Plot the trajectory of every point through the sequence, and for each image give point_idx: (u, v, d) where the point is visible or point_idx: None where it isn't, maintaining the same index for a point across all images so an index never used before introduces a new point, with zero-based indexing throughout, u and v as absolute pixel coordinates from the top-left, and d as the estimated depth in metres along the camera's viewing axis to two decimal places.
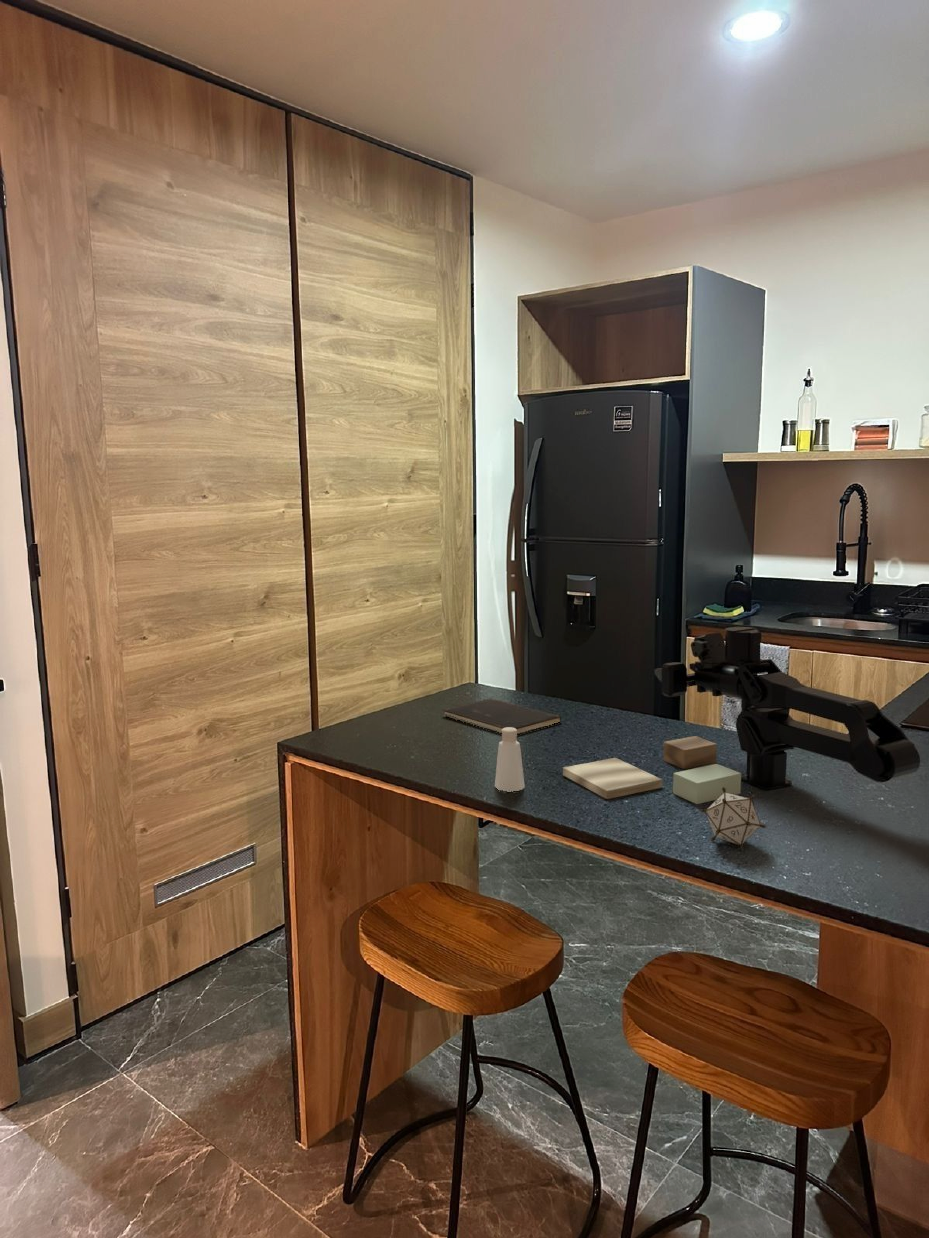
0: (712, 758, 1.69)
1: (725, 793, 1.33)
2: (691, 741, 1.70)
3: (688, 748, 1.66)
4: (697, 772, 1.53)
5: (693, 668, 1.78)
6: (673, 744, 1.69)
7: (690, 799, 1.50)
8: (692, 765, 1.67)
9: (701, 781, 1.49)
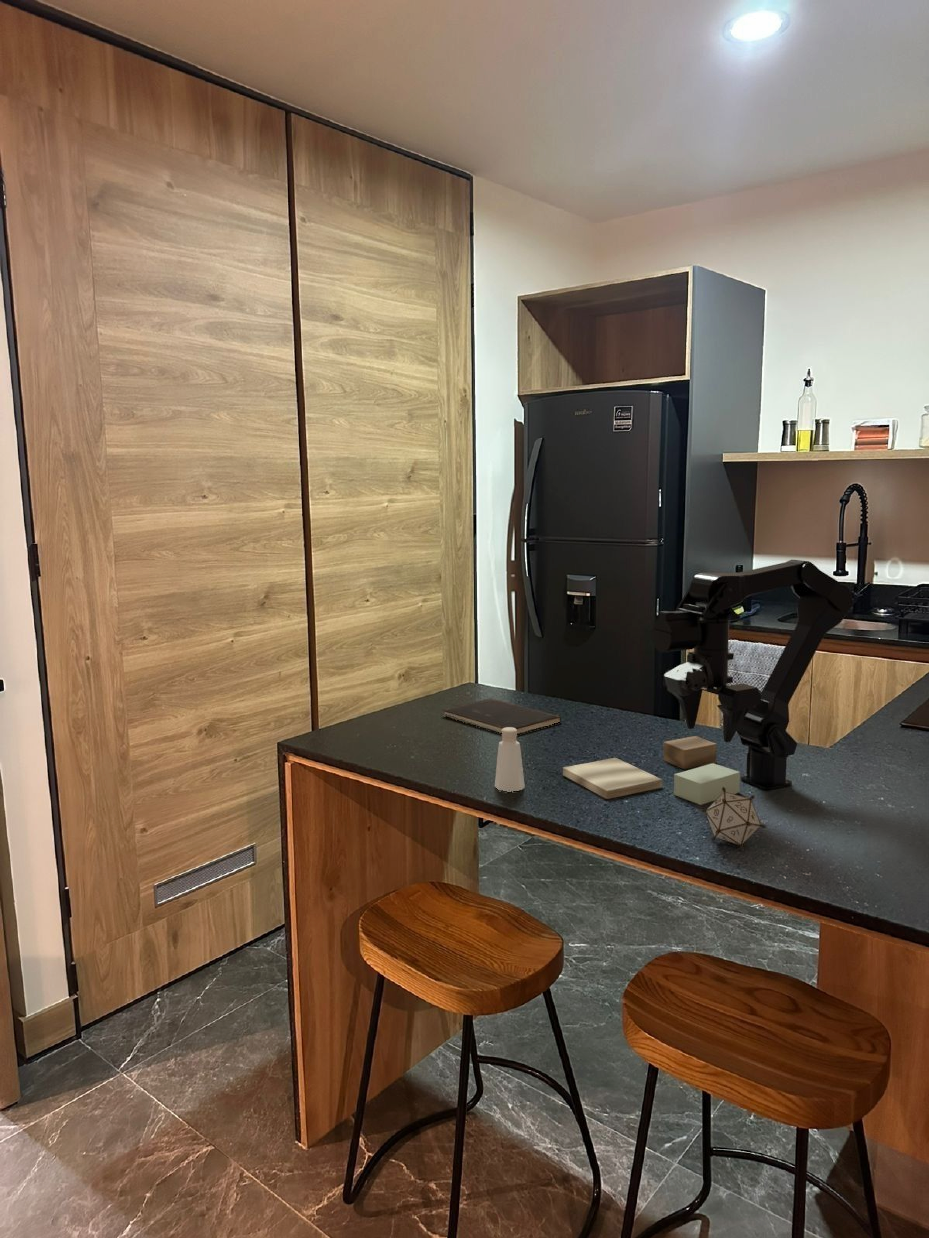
0: (712, 758, 1.69)
1: (725, 793, 1.33)
2: (691, 741, 1.70)
3: (688, 748, 1.66)
4: (697, 772, 1.53)
5: (693, 722, 1.55)
6: (673, 744, 1.69)
7: (693, 800, 1.49)
8: (692, 765, 1.67)
9: (704, 781, 1.48)
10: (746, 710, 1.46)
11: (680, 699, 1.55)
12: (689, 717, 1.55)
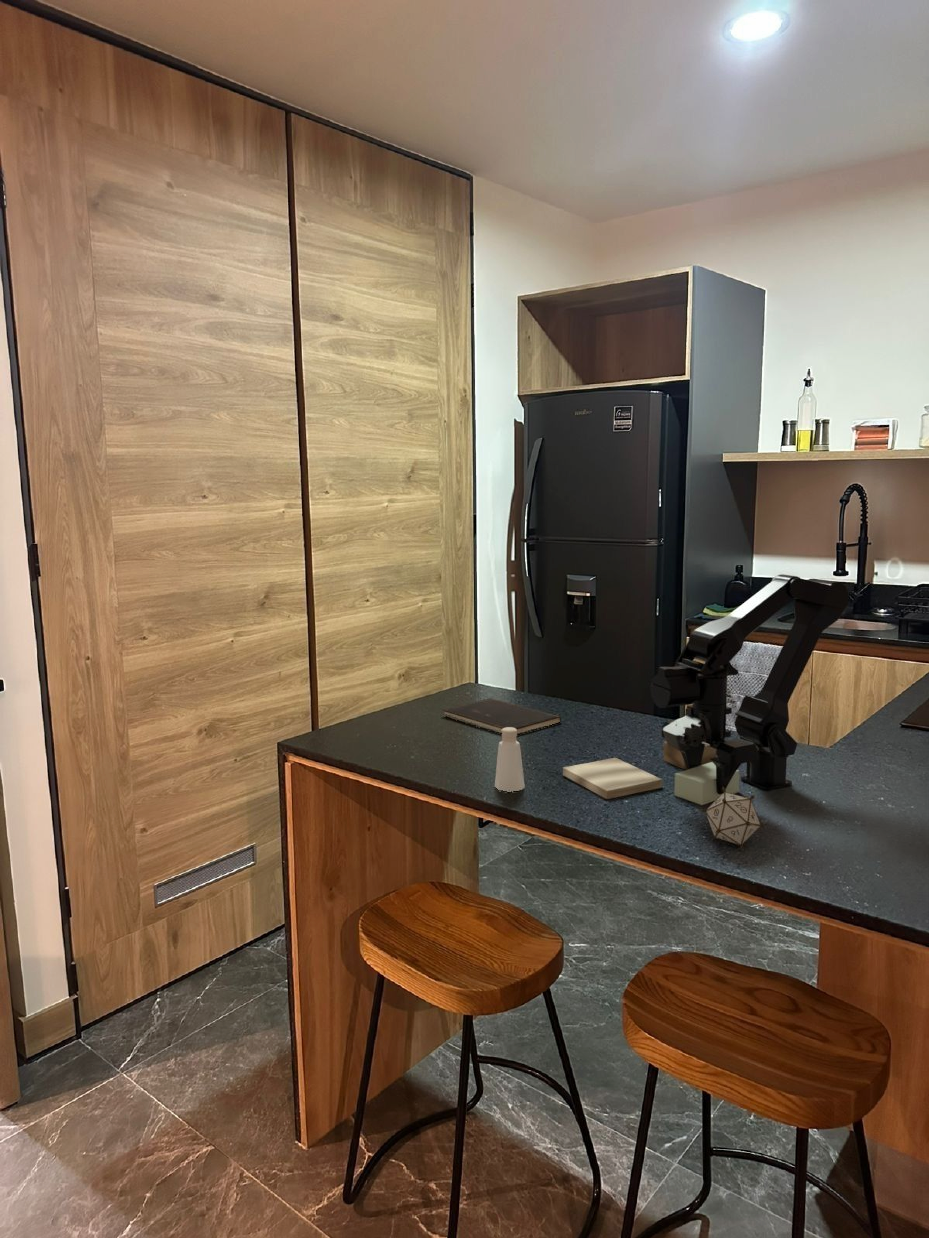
0: None
1: (725, 793, 1.33)
2: None
3: None
4: (697, 771, 1.53)
5: None
6: None
7: (694, 799, 1.49)
8: None
9: (705, 780, 1.48)
10: None
11: (683, 752, 1.55)
12: None
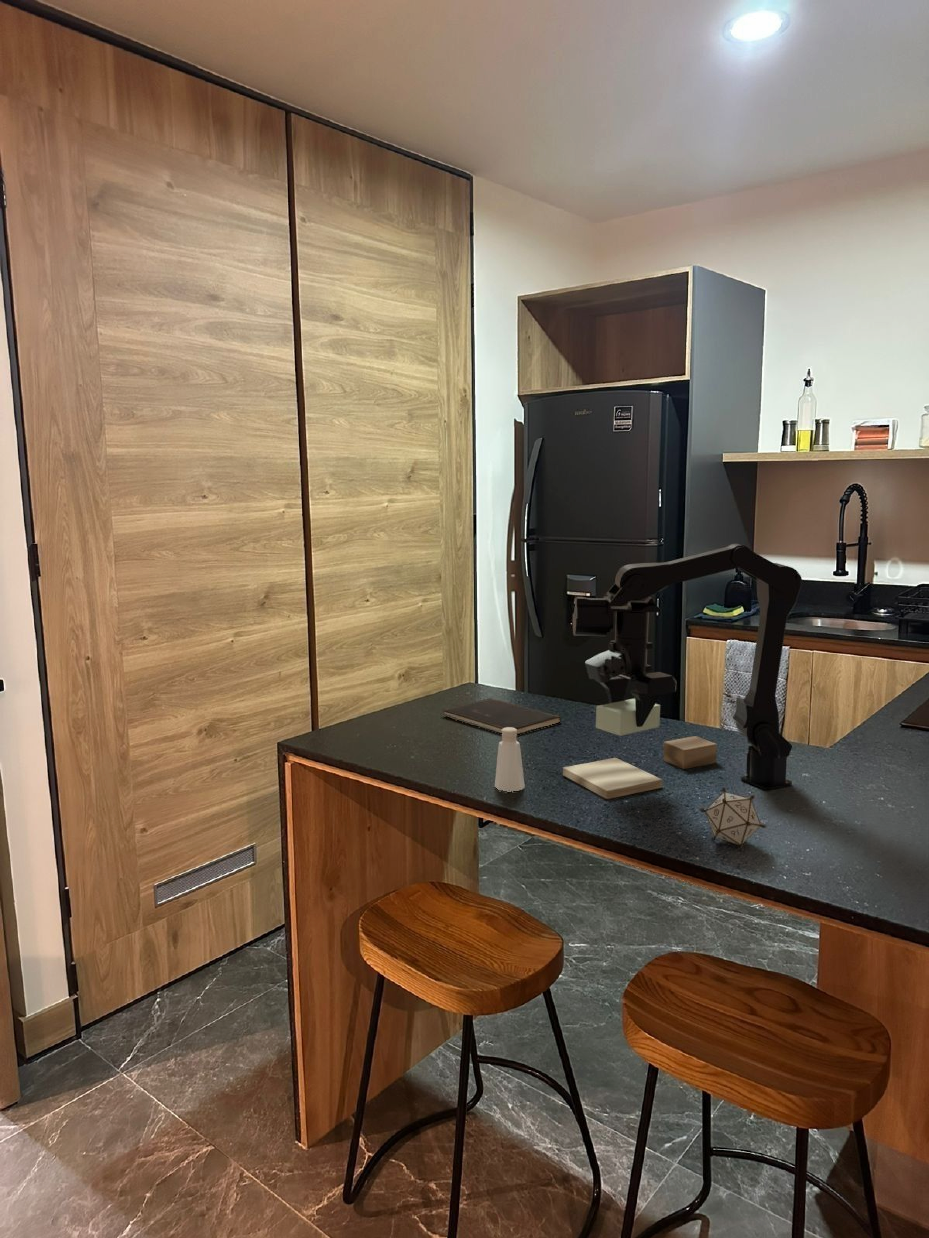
0: (712, 758, 1.69)
1: (725, 793, 1.33)
2: (691, 741, 1.70)
3: (688, 748, 1.66)
4: (618, 705, 1.56)
5: None
6: (673, 744, 1.69)
7: (613, 730, 1.52)
8: (692, 765, 1.67)
9: (624, 711, 1.52)
10: (657, 696, 1.52)
11: (606, 688, 1.59)
12: None
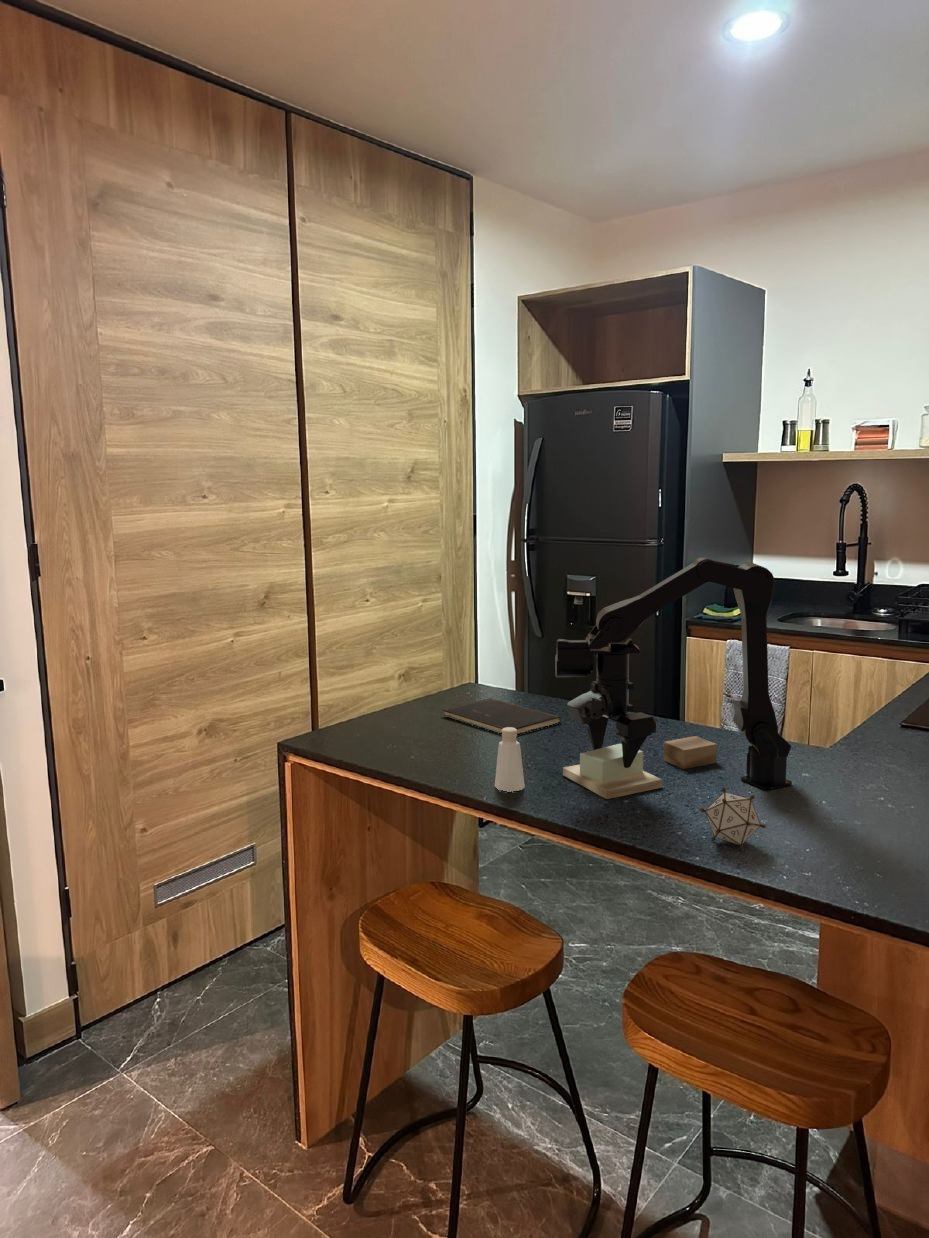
0: (712, 758, 1.69)
1: (725, 793, 1.33)
2: (691, 741, 1.70)
3: (688, 748, 1.66)
4: (602, 751, 1.59)
5: (599, 747, 1.63)
6: (673, 744, 1.69)
7: (596, 778, 1.56)
8: (692, 765, 1.67)
9: (606, 759, 1.55)
10: (644, 737, 1.53)
11: (587, 725, 1.63)
12: (595, 743, 1.63)
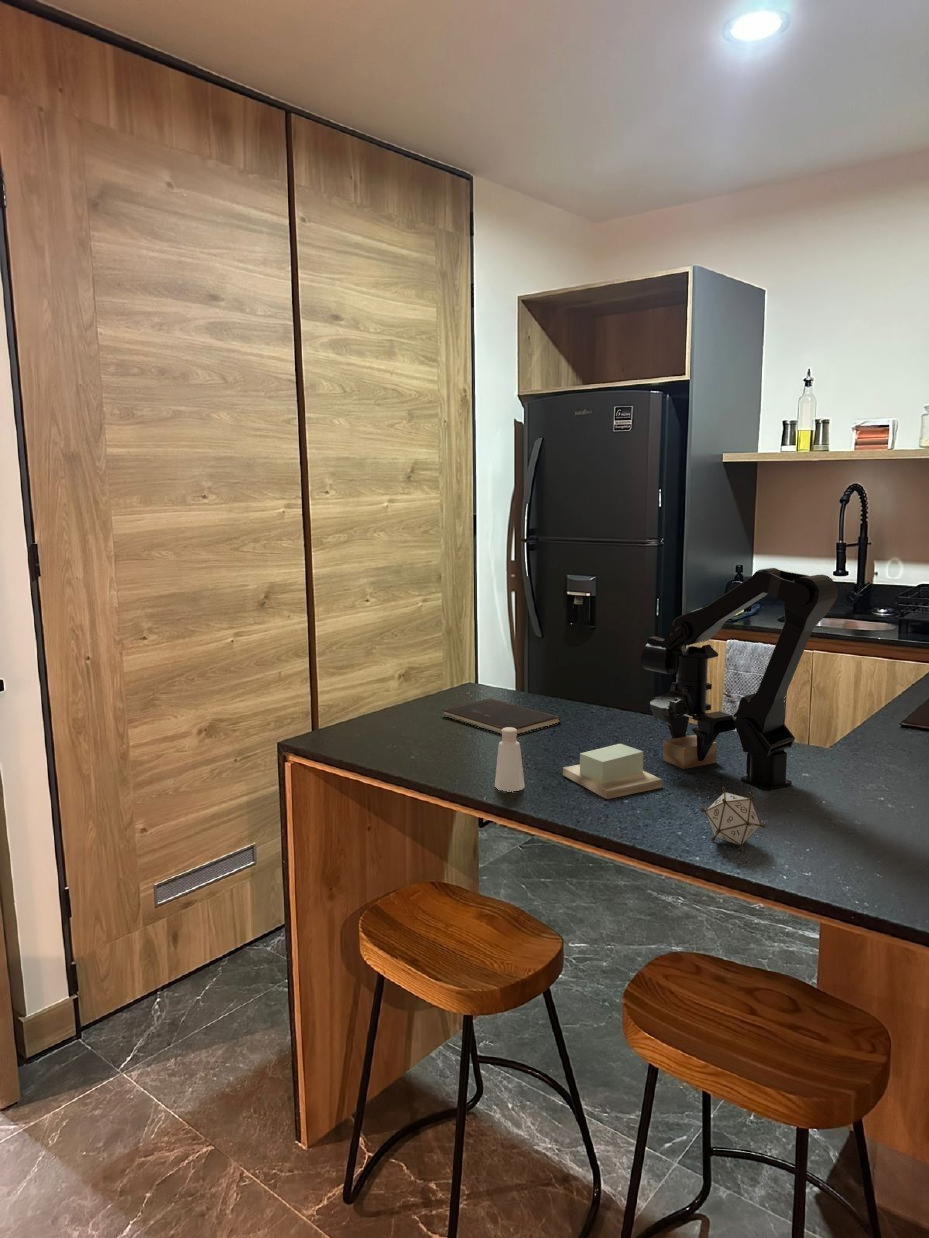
0: (712, 757, 1.69)
1: (725, 793, 1.33)
2: (691, 740, 1.70)
3: (688, 747, 1.66)
4: (602, 751, 1.59)
5: None
6: (673, 743, 1.69)
7: (596, 778, 1.56)
8: (692, 764, 1.67)
9: (606, 759, 1.55)
10: (717, 733, 1.66)
11: (669, 725, 1.72)
12: None
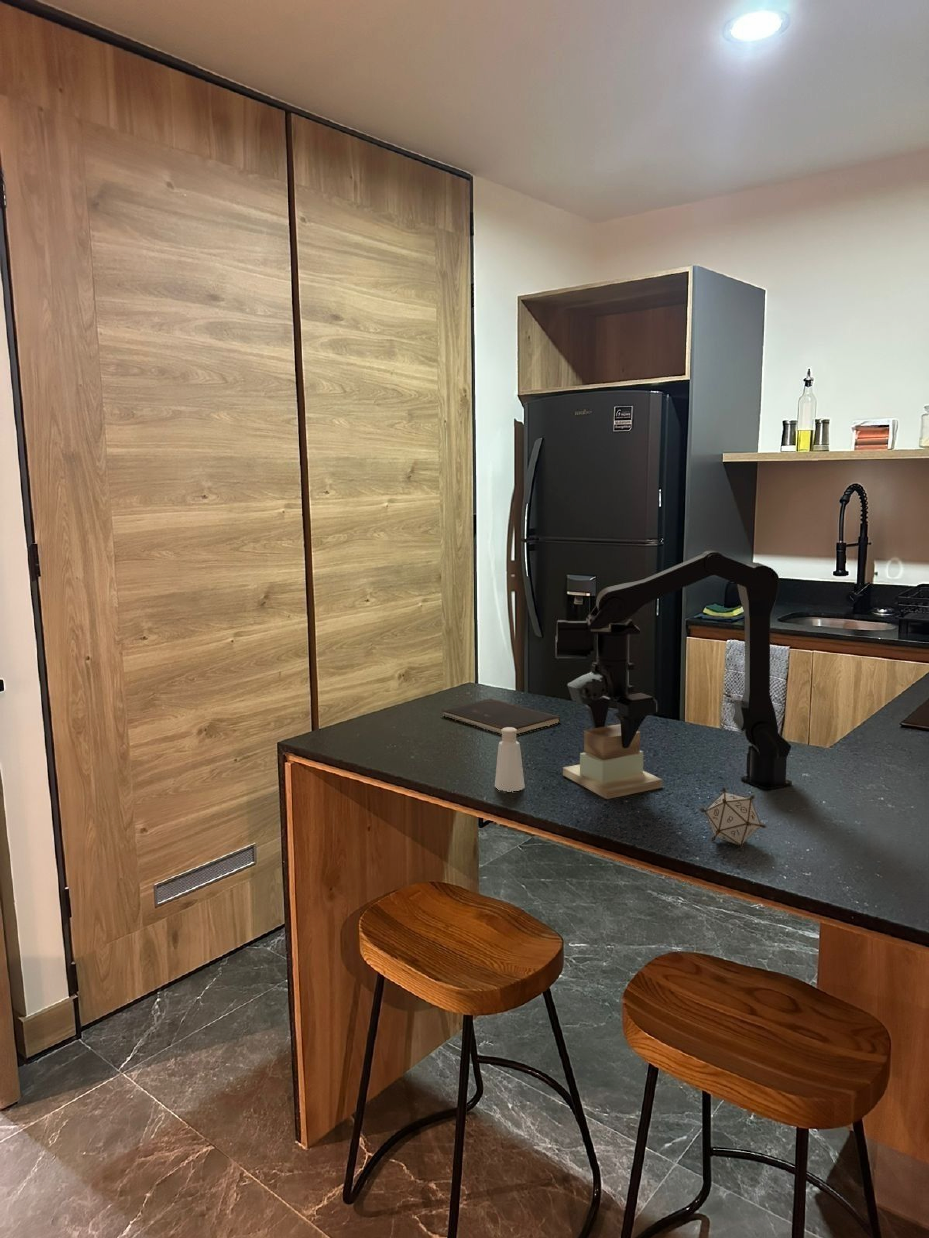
0: (636, 748, 1.58)
1: (725, 793, 1.33)
2: (614, 730, 1.59)
3: (608, 736, 1.55)
4: None
5: None
6: (593, 732, 1.58)
7: (596, 778, 1.56)
8: (613, 755, 1.56)
9: None
10: (642, 717, 1.53)
11: (588, 708, 1.62)
12: (596, 725, 1.62)
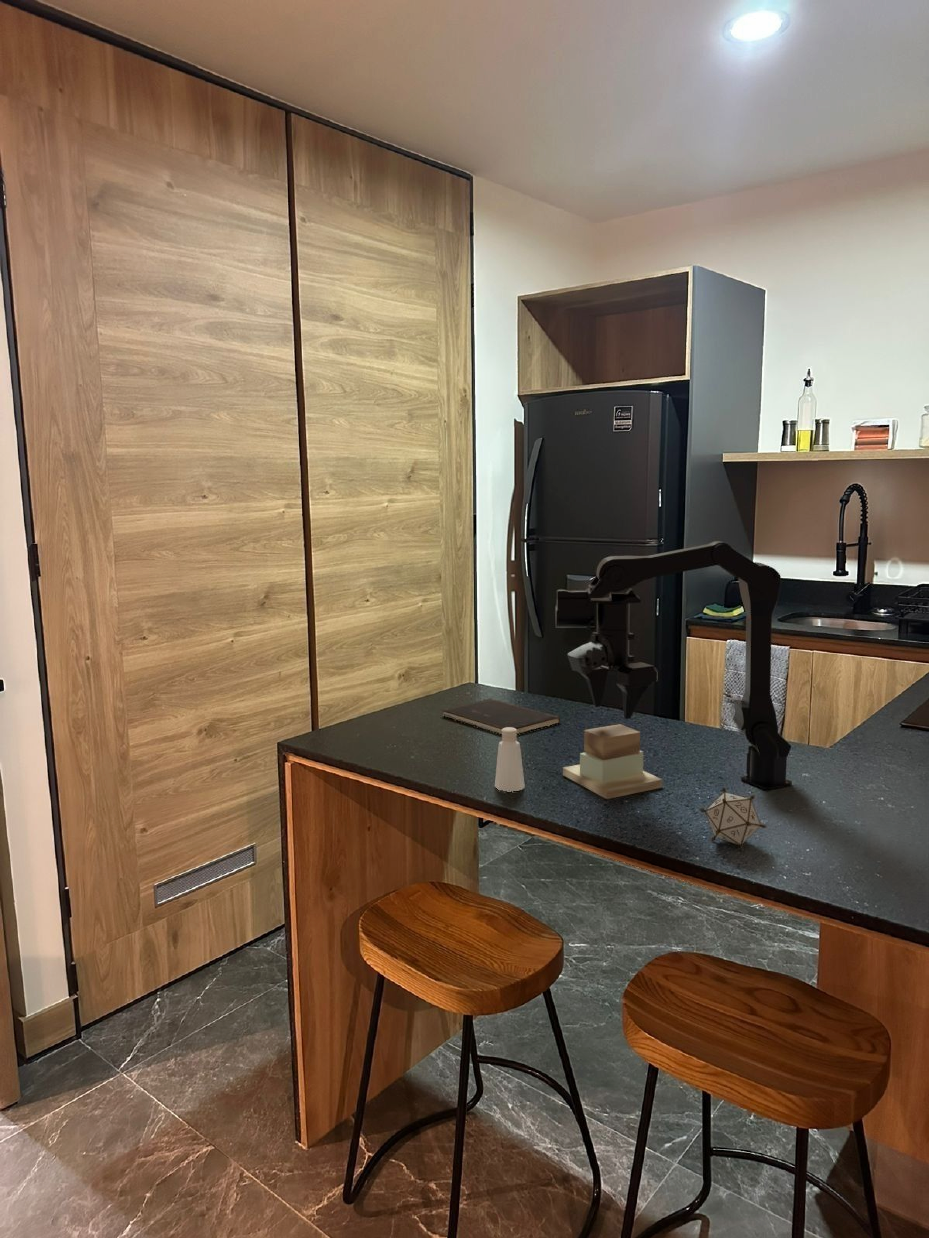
0: (636, 748, 1.58)
1: (725, 793, 1.33)
2: (614, 730, 1.59)
3: (608, 736, 1.55)
4: None
5: (599, 700, 1.62)
6: (593, 732, 1.58)
7: (596, 778, 1.56)
8: (613, 755, 1.56)
9: None
10: (644, 688, 1.52)
11: (587, 678, 1.61)
12: (595, 696, 1.61)
